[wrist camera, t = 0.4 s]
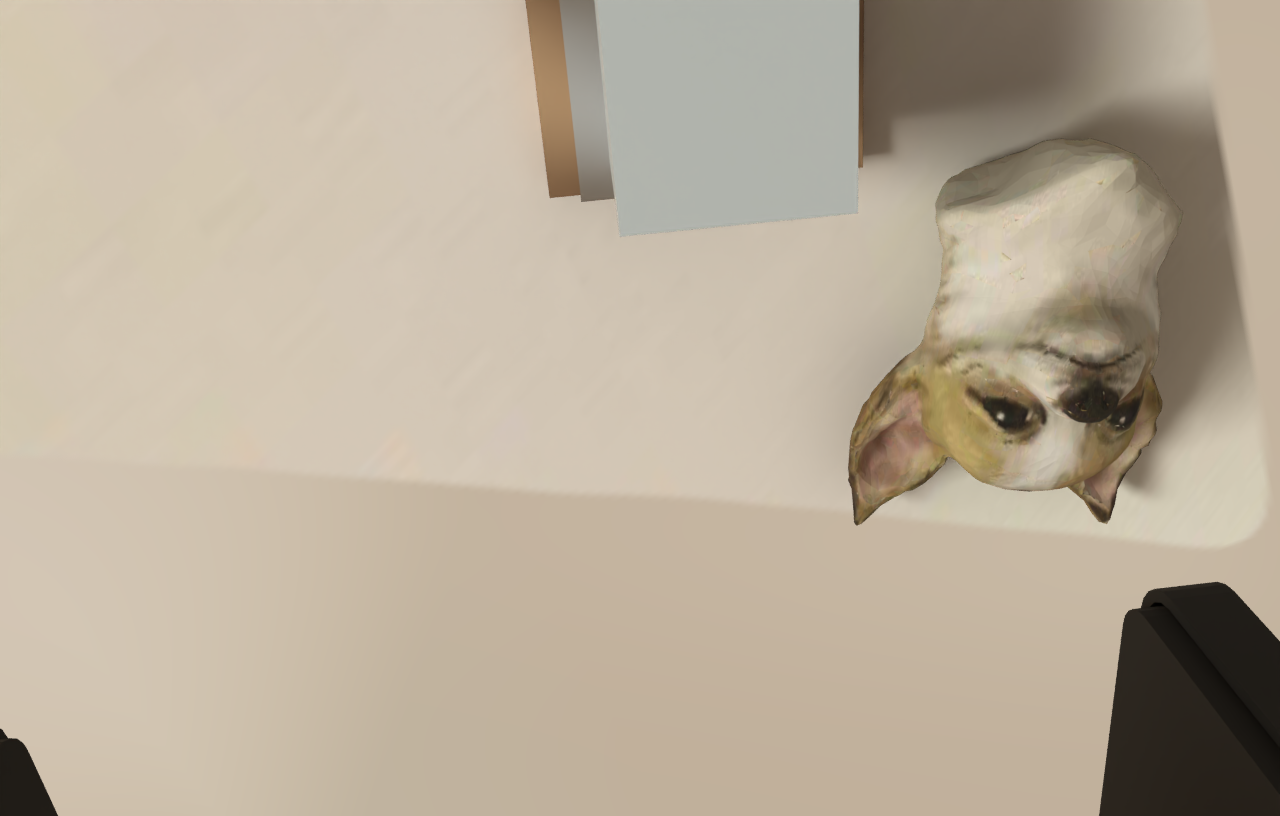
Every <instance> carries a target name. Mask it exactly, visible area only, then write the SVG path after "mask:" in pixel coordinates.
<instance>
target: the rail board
mask: <svg viewBox="0 0 1280 816" xmlns="http://www.w3.org/2000/svg"><path fill="white" fill-rule="evenodd" d="M525 1H526V9H527V17H528V25H529V33H530V41H531V50H532V58H533V66H534V74H535V82H536V90H537V98H538V107H539V115H540V123H541V131H542V139H543V147H544V155H545V163H546V172H547V180H548V188H549V196H550V198H554V197H564V196H574V195H581V202H585V201H595V200H605V199H615V198H614V190H613V183H612V175H611V168H610V158H609V148H608V137H607V127H606V116H605V106H604V96H603V85H602V75H601V65H600V54H599V44H598V33H597V23H596V13H595V2H594V0H525ZM863 51H864V0H859V119H858V168H860V167H863Z"/></svg>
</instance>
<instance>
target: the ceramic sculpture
mask: <svg viewBox="0 0 1280 816" xmlns="http://www.w3.org/2000/svg"><path fill="white" fill-rule="evenodd" d="M935 207H936V223H937V226H938V230H939V237H940V241H941V244H942V246H943V257H942V273H941V282H940V287H939V291H938V294H937V297H936V300H935V303H934V306H933V308H932V310H931V312H930V315H929V317H928V319H927V324H926V327H925V333H924V338H923V340H922V342H921V344H920V345H919V346H918V348H917V349H916V350H915V351H913V352H912V353H910V354H908V355H907V356H905V357H904V358H903V359H902V360H901V361H900V362H899V363H898V364H897V365H896V366H895V367H894V368H893V369H892V370H891V371H890V372H889V373H888V374H887V375H886V377H885V378H884V379H883V380H882V381H881V382H880V383H879V384H878V386H877V387H876V388H875V389H874V390H873V392H872V393H871V395H870V398H869V399H868V400H867V401H866V402H865V404H863V406H862V409H861V411H860V414H859V416H858V419H857V421H856V424H855V427H854V428H853V431H852V435H851V440H850V451H849V465H848V470H849V479H848V481H849V483H850V486H851V488H852V498H853V510H854V523H855V524H856V525H859V524H861V523H863V522H864V521H865V520H866V519H867V518H868V517H869V516H870V515H871V514H872V513H874V512H875V511H876V510H877V509H878V508H879V507H880V506H881V505H882V504H884V503H886V502H887V501H889V500H891V499H892V498H894V497H896V496H898V495H900V494H902V493H903V492H905V491H909V490H913V489H915V488H917V487H918V486H920V485H922V484H923V483H925V482H926V481H927V480H928V479H930V478H931V477H932V476H933V475H934V474H935V473H936V472H937V471H938V469H939V468H941V467H942V466H943V465H944V464H945V462H946V459H947V457H952V458H953V459H954V460H956V461H957V462H958V463H959V464H960V465H961V466H962V467H963V468H964V469H965V470H966V471H967V472H968V473H970V474H971V475H972V476H973V477H974V478H975V479H977V480H979V481H981V482H983V483H986V484H990V485H993V486H996V487H999V488H1003V489H1008V490H1019V491H1043V490H1053V489H1060V488H1064V487H1068V488H1070V489H1071V490H1072V491H1073V492H1074V493H1075V494H1077V495H1078V496H1079V497H1080V498H1081V499H1083V500H1084V501H1085V503H1086V505H1087V506H1088V508H1089V509H1090V511H1091V512H1092V514H1093V515H1094V516H1095V518H1096V519H1097V520H1098V521H1099V522H1102V523H1105V524H1107V523H1108V521H1109V520H1110V518H1111V514H1112V511H1113V508H1114V505H1115V500H1116V494H1117V489H1118V487H1119V485H1120V483H1121V481H1122V479H1123V477H1124V476H1125V474H1126V472H1127V471H1128V470H1129V469H1130V468H1131V467H1132V466H1133V464H1134V463H1135V462H1136V460H1137V459H1138V457H1139V456H1140V454H1141V448H1143V447H1146V446H1148V445H1149V443H1150V440H1151V439H1152V438H1153V436H1154V435H1155V433H1156V431H1157V428H1156V419H1157V417H1158V415H1159V414H1160V412H1161V409H1162V399H1161V397H1160V394H1159V392H1158V389H1157V387H1156V384H1155V381H1154V379H1153V376H1152V375H1151V374H1150V371H1151V369H1152V368H1153V366H1154V364H1155V362H1156V359H1157V356H1158V350H1159V327H1160V319H1161V311H1160V308H1159V301H1158V284H1157V273H1158V270H1159V268H1160V266H1161V264H1162V263H1163V261H1164V259H1165V257H1166V255H1167V252H1168V250H1169V247H1170V245H1171V244H1172V242H1173V240H1174V238H1175V237H1176V236H1177V233H1178V227H1179V225H1180V223H1181V220H1182V215H1183V212H1182V211H1181V210H1180V209H1179V208H1178V206H1177V205H1176V204H1175V203H1174V202H1173V200H1172V199H1171V198H1170V197H1169V195H1168V194H1167V193H1166V191H1165V189H1164V188H1163V186H1162V185H1161V183H1160V181H1159V179H1158V178H1157V176H1156V174H1155V173H1154V172H1153V170H1152V169H1151V168H1150V167H1149V166H1148V165H1147V164H1146V163H1145V162H1144V161H1142V160H1141V159H1140V158H1139V157H1138V156H1137V155H1136V154H1134V153H1130V152H1127V151H1125V150H1123V149H1121V148H1119V147H1117V146H1114V145H1111V144H1108V143H1105V142H1101V141H1098V140H1094V139H1086V140H1079V141H1076V140H1069V139H1054V140H1047V141H1042V142H1040V143H1039V144H1037V145H1035V146H1033V147H1031V148H1029V149H1027V150H1025V151H1023V152H1019V153H1015V154H1012V155H1009V156H1006V157H1004V158H1001V159H998V160H995V161H992V162H988V163H985V164H982V165H979V166H975V167H972V168H969V169H965V170H964V171H962V172H961V173H959V174H958V175H955V176H953V177H951V178H950V179H948V180H947V182H946V183H945V184H944V185H943V187H942V189H941V191H940V193H939V196H938V198H937V201H936V205H935Z"/></svg>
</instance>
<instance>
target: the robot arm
mask: <svg viewBox="0 0 1280 816" xmlns="http://www.w3.org/2000/svg"><path fill="white" fill-rule="evenodd" d="M0 816H58V815H57V813H56V811H55V808H54V806H53V804H52V802H51V800H50V797H49V795H48V793H47V791H46V789H45V787H44V784H43V782H42V780H41V778H40V776H39V774H38V771H37V769H36V767H35V765H34V763H33V761H32V758H31V756H30V754H29V752H28V750H27V748H26V747H25V745H24V744H23V743H22V742H21V741H19V740H18V739H12V738H9V739H8V738H7V736H6V735H5V733H4V732H3V730H2V729H0ZM1099 816H1280V641H1279V640H1278V639H1277V638H1276V637H1275V636H1274V635H1273V634H1272V632H1271V631H1270V630H1269V629H1268V628H1267V627H1266V626H1265V625H1264V623H1263V622H1261V620H1260V619H1259V618H1258V617H1257V616H1256V615H1255V614H1254V613H1253V611H1252V610H1250V608H1249V607H1248V606H1247V605H1246V604H1245V603H1244V601H1243V600H1242V599H1241V598H1240V597H1239V596H1238V595H1237V594H1236V593H1235V592H1234V591H1233V590H1232V589H1231V588H1230V587H1228V586H1227V585H1226V584H1223V583H1219V582H1212V583H1203V584H1194V585H1186V586H1177V587H1169V588H1160V589H1154V590H1151V591H1148V593H1147V594H1146V596H1145V597H1144V598H1143V602H1142V606H1141V608H1139V609H1132V610H1129V611H1128V612H1127V614H1126V615H1125V618H1124V622H1123V629H1122V637H1121V645H1120V653H1119V661H1118V670H1117V677H1116V685H1115V693H1114V701H1113V709H1112V717H1111V725H1110V733H1109V741H1108V749H1107V757H1106V765H1105V774H1104V782H1103V789H1102V797H1101V805H1100V814H1099Z"/></svg>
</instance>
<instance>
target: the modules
mask: <svg viewBox="0 0 1280 816" xmlns="http://www.w3.org/2000/svg"><path fill="white" fill-rule="evenodd" d="M594 2H595V13H596V23H597V33H598V44H599V54H600V65H601V75H602V85H603V96H604V106H605V116H606V127H607V137H608V148H609V158H610V168H611V175H612V183H613V190H614V198H615V205H616V212H617V220H618V227H619V235H620V237H622V236H632V235H643V234H653V233H663V232H673V231H683V230H693V229H703V228H714V227H724V226H734V225H744V224H754V223H764V222H775V221H785V220H795V219H805V218H815V217H825V216H835V215H846V214H856V213H858V119H859V0H594Z"/></svg>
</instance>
